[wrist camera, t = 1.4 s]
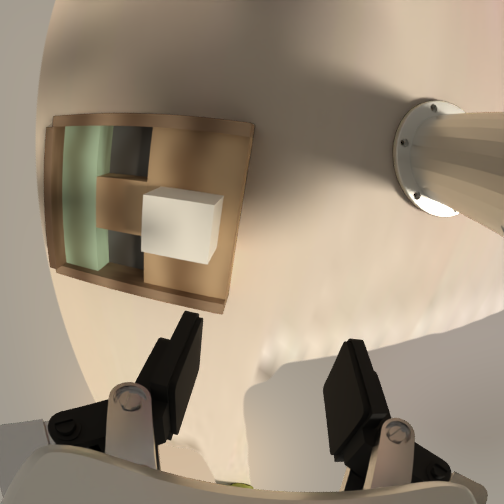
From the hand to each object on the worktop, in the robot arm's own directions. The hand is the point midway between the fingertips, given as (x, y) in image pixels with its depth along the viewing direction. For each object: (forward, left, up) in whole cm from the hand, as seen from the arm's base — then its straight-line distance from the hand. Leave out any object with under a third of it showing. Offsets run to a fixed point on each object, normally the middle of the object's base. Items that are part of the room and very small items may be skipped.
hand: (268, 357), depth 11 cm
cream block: (+8, 0, -17) cm, 18 cm away
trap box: (+14, 0, -20) cm, 24 cm away
